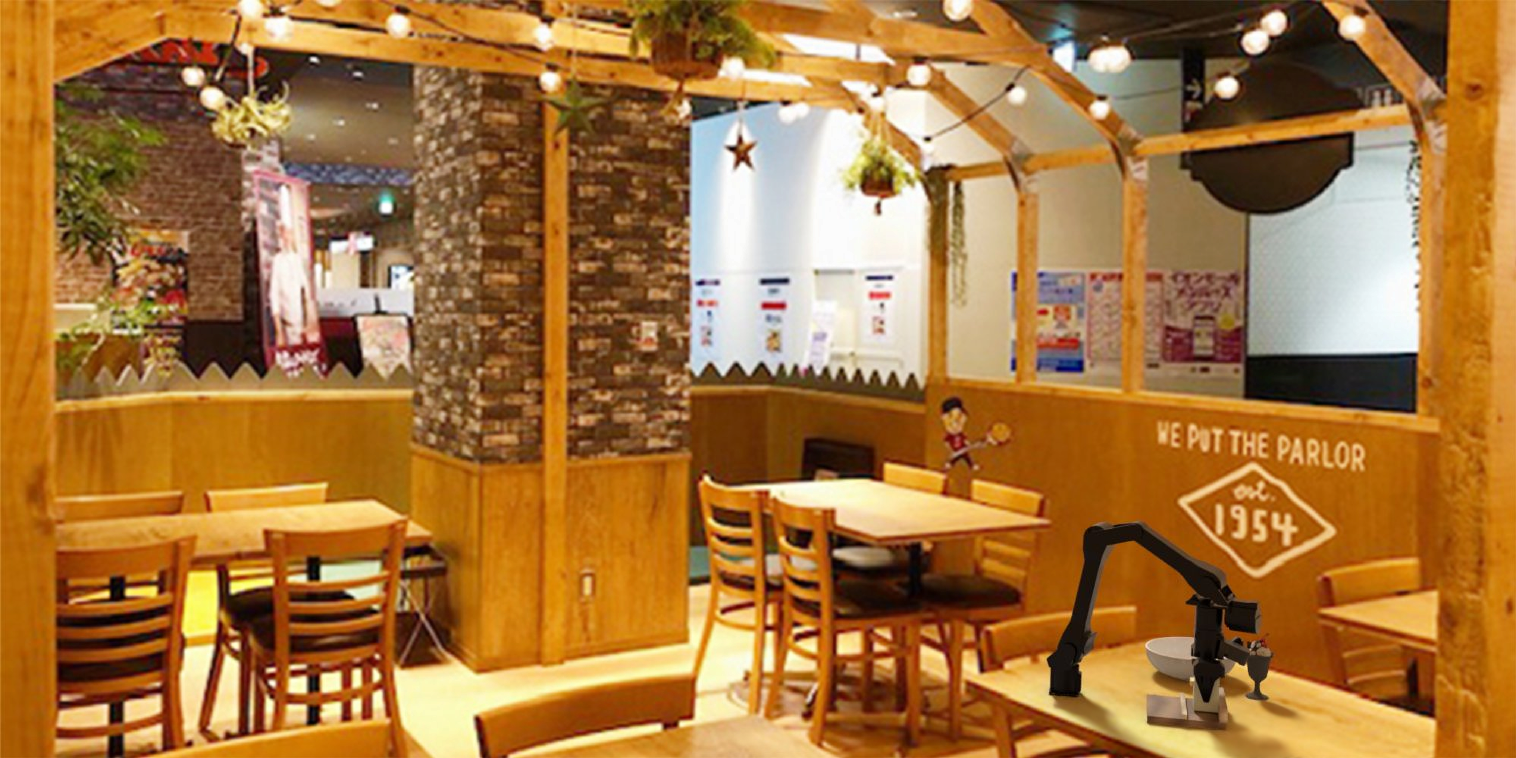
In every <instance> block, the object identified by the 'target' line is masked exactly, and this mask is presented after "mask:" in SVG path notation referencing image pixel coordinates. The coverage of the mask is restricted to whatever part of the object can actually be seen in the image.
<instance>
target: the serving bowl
mask: <svg viewBox="0 0 1516 758" xmlns="http://www.w3.org/2000/svg"><path fill="white" fill-rule="evenodd" d="M1193 643H1194V637H1188V636H1170V637H1169V636H1168V637H1157V638H1154V639H1151V640H1149V641H1147V642H1146V643H1145V645H1144V647H1145V654H1146V657H1147V660H1148V662H1149V663H1150V664H1151V666H1153V668H1154V669H1156V670H1157V671H1158V672H1160V673H1162V674H1163V675H1166V676H1169V677H1172V678H1175V679H1178V680H1181V681H1187V680H1188V682H1190V677H1193V678H1194V675H1193V665H1192V660H1191V659H1196V657H1193V656H1191V645H1192V644H1193ZM1216 660H1218V659H1216ZM1220 661H1221V662H1222V663H1223V664H1224V667H1225V676H1226V675H1227V674H1229V673H1230V672H1231V671H1232V670H1233V668H1234V667H1235V665H1236V664H1237V662H1234V661H1232V660H1230V659H1228V658H1226V657H1224V660H1220Z"/></svg>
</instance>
